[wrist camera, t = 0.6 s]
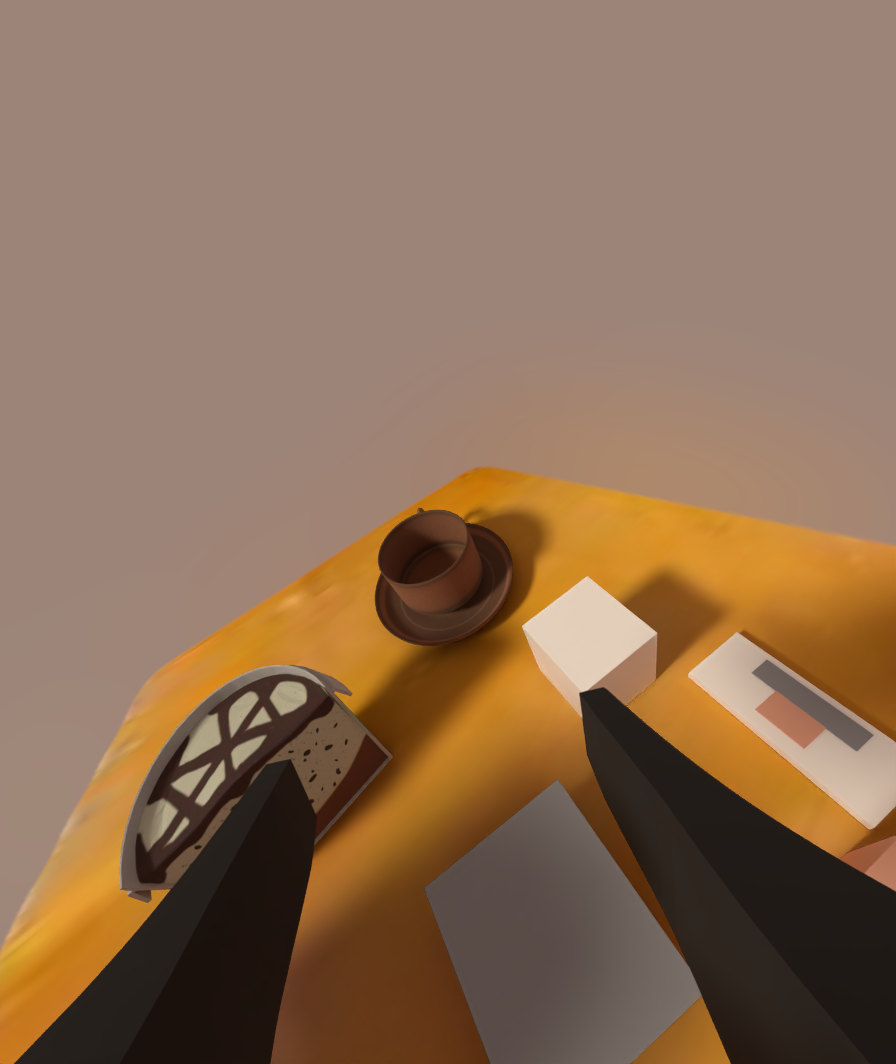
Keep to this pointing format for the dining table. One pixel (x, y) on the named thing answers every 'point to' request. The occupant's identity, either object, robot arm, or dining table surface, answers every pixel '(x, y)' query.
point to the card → (804, 727)
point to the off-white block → (592, 645)
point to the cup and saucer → (440, 578)
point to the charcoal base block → (557, 943)
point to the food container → (244, 767)
